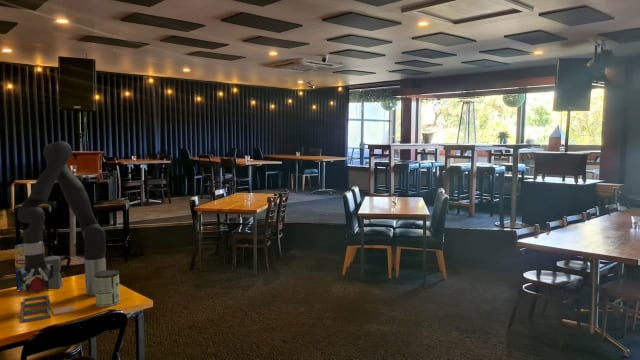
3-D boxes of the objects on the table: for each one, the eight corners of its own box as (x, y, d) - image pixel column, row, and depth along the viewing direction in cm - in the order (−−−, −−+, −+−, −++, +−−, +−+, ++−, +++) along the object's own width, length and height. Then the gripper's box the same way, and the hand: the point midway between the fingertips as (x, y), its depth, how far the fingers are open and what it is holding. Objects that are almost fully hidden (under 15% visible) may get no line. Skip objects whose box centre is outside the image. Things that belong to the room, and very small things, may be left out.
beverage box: (42, 288, 240) (40, 245, 238) (16, 291, 235) (14, 247, 233) (42, 285, 246) (40, 242, 244) (17, 288, 240) (14, 245, 239)
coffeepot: (37, 291, 234) (35, 255, 233) (38, 286, 243) (36, 252, 241) (72, 287, 241) (70, 252, 240) (72, 282, 250) (70, 248, 248)
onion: (34, 292, 211) (32, 274, 210) (48, 291, 212) (46, 273, 211) (27, 296, 205) (26, 278, 205) (42, 295, 206) (40, 277, 205)
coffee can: (96, 300, 220) (95, 270, 219) (121, 298, 223) (119, 268, 222) (93, 308, 210) (92, 276, 209) (119, 305, 213) (118, 274, 212)
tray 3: (48, 310, 207) (48, 308, 207) (50, 317, 198) (50, 314, 198) (21, 315, 201) (21, 312, 201) (22, 322, 193) (22, 319, 193)
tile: (72, 306, 212) (72, 305, 212) (75, 311, 205) (74, 310, 205) (52, 310, 207) (52, 308, 207) (53, 315, 201) (53, 314, 200)
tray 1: (48, 297, 225) (48, 294, 225) (49, 303, 217) (49, 300, 217) (23, 301, 220) (23, 298, 220) (24, 307, 211) (23, 304, 211)
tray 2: (48, 303, 216) (48, 301, 216) (50, 310, 208) (50, 307, 208) (22, 308, 211) (22, 305, 210) (23, 314, 202) (23, 311, 202)
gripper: (52, 248, 214) (55, 284, 215) (14, 253, 206) (17, 291, 207) (54, 251, 208) (57, 288, 209) (15, 256, 200) (18, 295, 201)
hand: (37, 289), depth 208 cm, fingers closed on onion, 6 cm apart
